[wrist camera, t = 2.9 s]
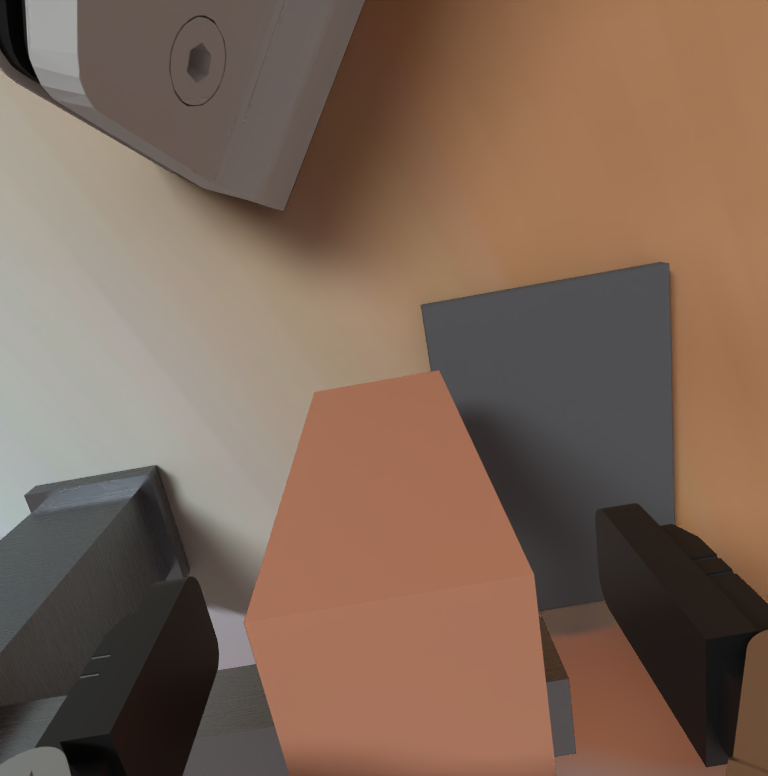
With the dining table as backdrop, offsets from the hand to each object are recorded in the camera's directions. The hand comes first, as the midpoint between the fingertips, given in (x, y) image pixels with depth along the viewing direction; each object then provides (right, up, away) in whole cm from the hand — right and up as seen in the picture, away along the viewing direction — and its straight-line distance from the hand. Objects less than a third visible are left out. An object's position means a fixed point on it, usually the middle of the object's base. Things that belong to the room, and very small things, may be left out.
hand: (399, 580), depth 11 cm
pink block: (0, -1, +8) cm, 8 cm away
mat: (+7, +1, +12) cm, 13 cm away
